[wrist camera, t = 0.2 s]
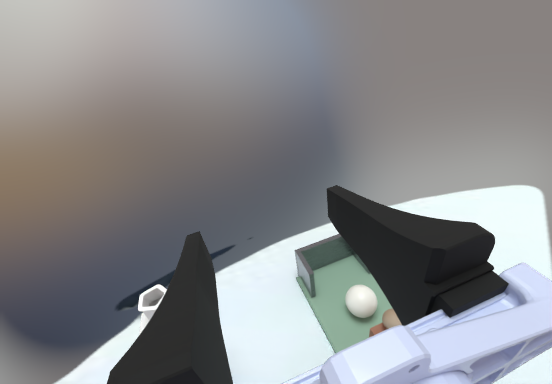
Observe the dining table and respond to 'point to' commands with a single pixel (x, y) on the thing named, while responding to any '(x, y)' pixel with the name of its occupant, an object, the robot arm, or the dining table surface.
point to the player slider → (385, 322)
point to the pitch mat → (343, 302)
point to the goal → (322, 258)
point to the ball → (361, 301)
